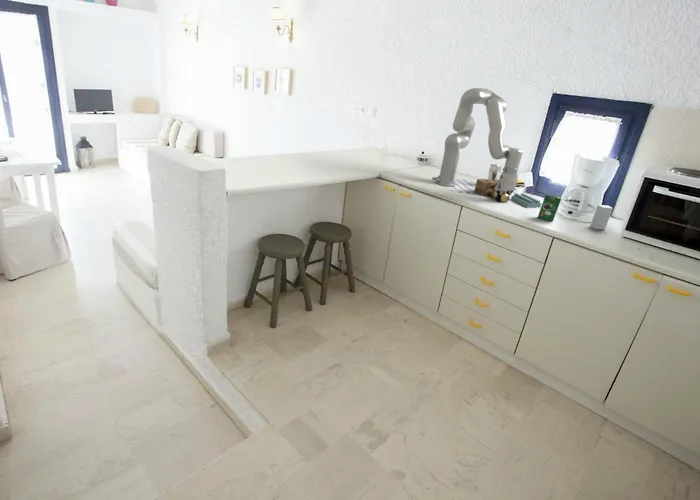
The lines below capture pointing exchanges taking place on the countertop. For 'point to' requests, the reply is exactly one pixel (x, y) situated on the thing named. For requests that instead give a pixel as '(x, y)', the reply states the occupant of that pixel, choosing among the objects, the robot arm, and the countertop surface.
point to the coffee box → (549, 207)
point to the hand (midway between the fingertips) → (501, 200)
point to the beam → (485, 186)
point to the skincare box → (601, 217)
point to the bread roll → (493, 193)
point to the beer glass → (494, 171)
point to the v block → (526, 200)
